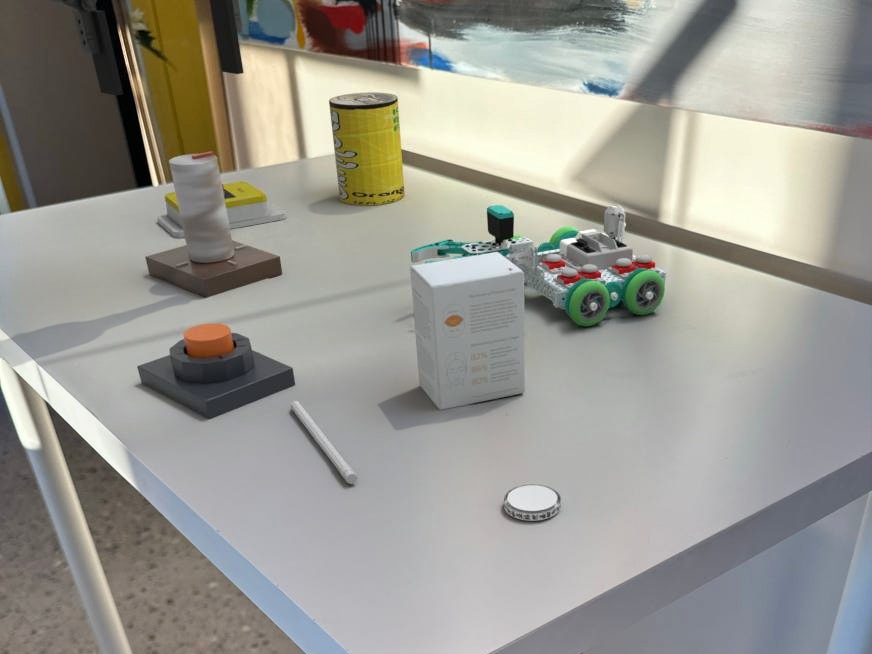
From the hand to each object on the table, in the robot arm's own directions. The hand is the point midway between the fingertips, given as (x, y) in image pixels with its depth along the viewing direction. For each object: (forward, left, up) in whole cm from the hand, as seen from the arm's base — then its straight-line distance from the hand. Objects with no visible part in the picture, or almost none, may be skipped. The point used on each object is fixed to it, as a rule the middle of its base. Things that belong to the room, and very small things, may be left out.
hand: (174, 83), depth 94 cm
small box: (+40, 0, -20) cm, 45 cm away
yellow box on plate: (-22, +16, -20) cm, 34 cm away
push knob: (+22, -14, -17) cm, 31 cm away
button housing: (+22, -14, -20) cm, 33 cm away
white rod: (+38, -15, -20) cm, 45 cm away
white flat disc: (+57, -11, -20) cm, 61 cm away
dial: (-4, +3, -18) cm, 18 cm away
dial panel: (-4, +3, -20) cm, 20 cm away
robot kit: (+30, +20, -20) cm, 41 cm away
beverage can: (-15, +36, -20) cm, 44 cm away
